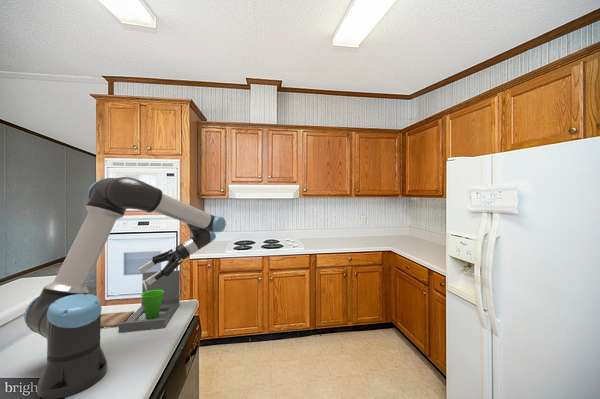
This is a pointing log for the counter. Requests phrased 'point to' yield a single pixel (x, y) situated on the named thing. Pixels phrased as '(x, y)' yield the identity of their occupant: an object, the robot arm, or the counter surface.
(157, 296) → the cup
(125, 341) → the counter surface
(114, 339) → the counter surface
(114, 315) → the board
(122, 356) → the counter surface
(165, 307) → the equipment case
